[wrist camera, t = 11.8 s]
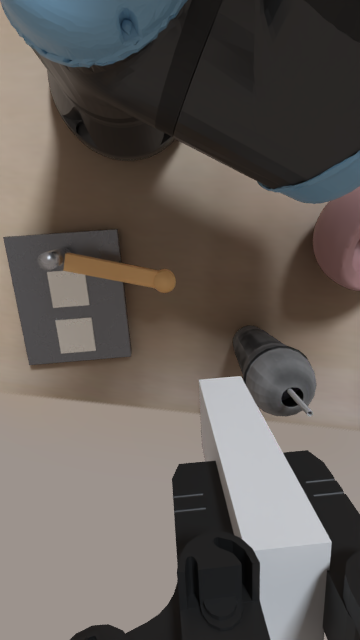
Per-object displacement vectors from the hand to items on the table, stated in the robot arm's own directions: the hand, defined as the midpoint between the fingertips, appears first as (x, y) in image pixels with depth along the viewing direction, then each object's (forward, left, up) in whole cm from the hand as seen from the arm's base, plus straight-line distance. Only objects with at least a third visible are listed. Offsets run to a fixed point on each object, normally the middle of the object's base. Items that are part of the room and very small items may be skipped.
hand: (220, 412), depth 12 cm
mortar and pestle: (-4, +22, -33) cm, 39 cm away
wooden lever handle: (-2, -6, -28) cm, 28 cm away
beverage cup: (+10, +10, -33) cm, 35 cm away
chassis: (+2, -13, -32) cm, 35 cm away
